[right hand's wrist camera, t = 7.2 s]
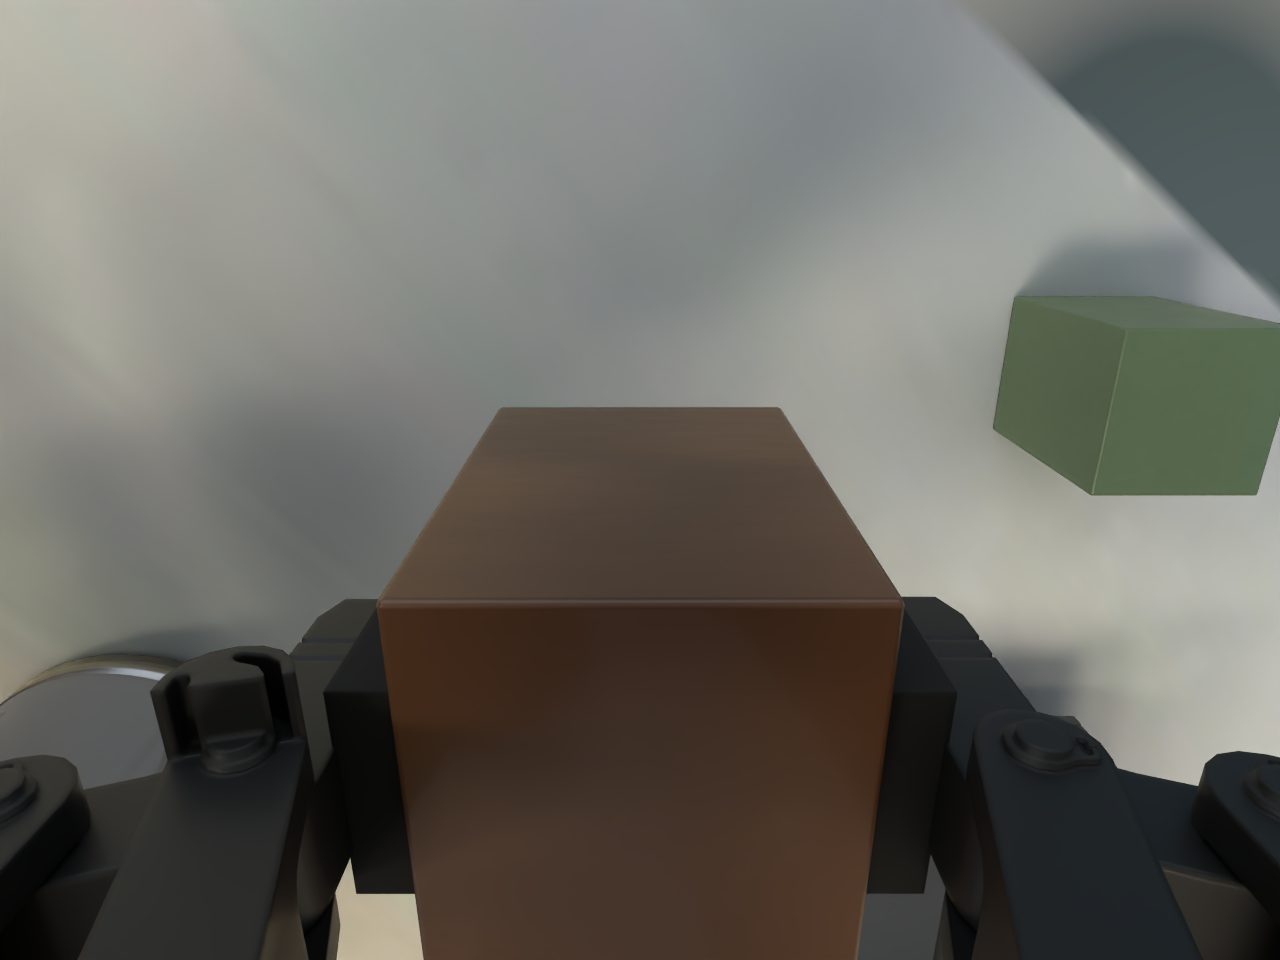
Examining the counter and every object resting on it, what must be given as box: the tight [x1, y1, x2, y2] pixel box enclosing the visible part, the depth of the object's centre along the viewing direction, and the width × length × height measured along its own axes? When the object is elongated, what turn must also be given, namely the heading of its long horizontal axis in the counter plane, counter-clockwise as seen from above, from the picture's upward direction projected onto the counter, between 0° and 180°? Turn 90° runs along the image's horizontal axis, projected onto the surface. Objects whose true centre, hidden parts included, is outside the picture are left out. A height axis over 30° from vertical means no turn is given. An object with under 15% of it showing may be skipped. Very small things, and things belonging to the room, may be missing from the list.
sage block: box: [993, 297, 1280, 495], centre depth 26 cm, size 5×5×7 cm
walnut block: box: [377, 407, 905, 960], centre depth 11 cm, size 5×5×7 cm
